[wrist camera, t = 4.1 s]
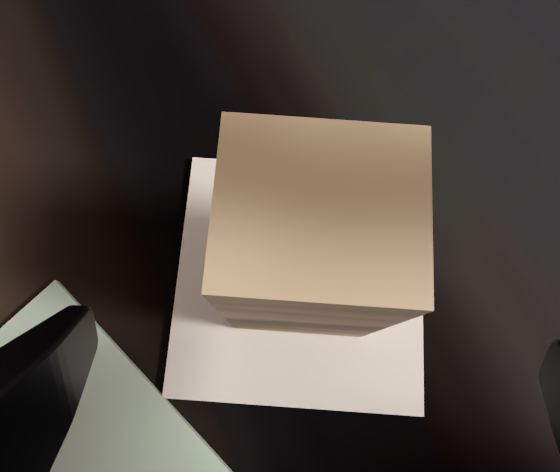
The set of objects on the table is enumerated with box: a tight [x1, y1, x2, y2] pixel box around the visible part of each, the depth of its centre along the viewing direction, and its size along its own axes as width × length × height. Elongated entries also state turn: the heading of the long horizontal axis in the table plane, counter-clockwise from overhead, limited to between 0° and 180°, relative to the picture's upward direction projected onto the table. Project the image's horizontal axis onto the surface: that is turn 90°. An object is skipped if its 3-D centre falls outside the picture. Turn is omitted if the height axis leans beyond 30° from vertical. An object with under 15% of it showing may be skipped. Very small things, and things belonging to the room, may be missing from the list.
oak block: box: [201, 112, 434, 337], centre depth 15 cm, size 4×5×9 cm
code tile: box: [162, 157, 424, 417], centre depth 20 cm, size 10×10×1 cm
